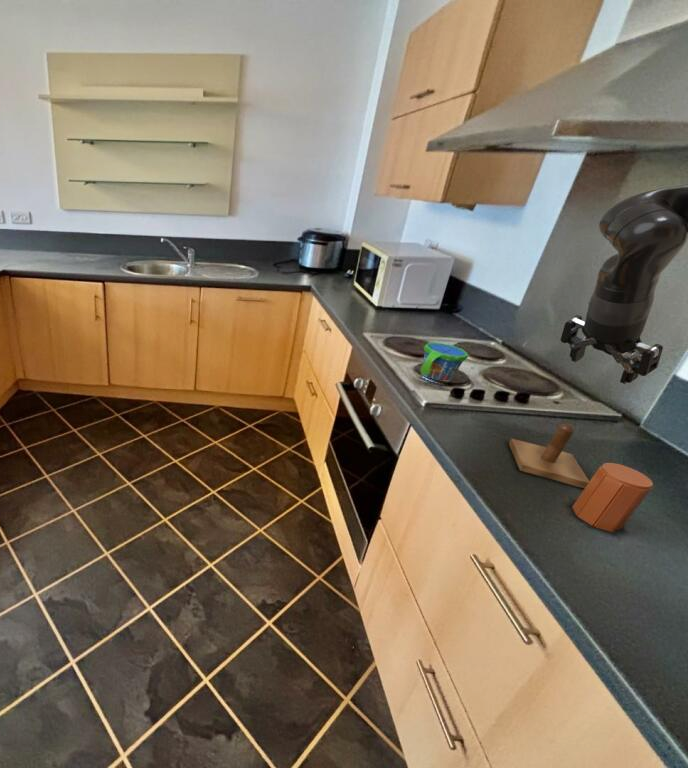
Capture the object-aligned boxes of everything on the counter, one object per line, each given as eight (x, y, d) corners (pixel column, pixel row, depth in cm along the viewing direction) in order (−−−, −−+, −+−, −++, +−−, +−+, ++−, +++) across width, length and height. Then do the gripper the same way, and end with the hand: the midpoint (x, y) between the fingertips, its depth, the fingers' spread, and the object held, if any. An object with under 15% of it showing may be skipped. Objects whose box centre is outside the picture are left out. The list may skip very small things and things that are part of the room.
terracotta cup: (610, 513, 76) (642, 470, 71) (625, 536, 70) (661, 491, 66) (568, 500, 78) (596, 458, 73) (579, 522, 73) (611, 478, 68)
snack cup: (435, 370, 129) (447, 339, 125) (467, 385, 121) (482, 353, 116) (400, 376, 123) (411, 344, 119) (432, 392, 115) (446, 359, 110)
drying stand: (568, 459, 90) (593, 419, 85) (586, 489, 81) (615, 447, 77) (508, 443, 94) (529, 405, 89) (519, 470, 85) (543, 429, 81)
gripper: (689, 313, 66) (661, 377, 76) (590, 282, 77) (577, 342, 88) (650, 340, 66) (627, 400, 77) (556, 306, 78) (547, 362, 88)
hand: (600, 369), depth 82 cm, fingers open, 8 cm apart
